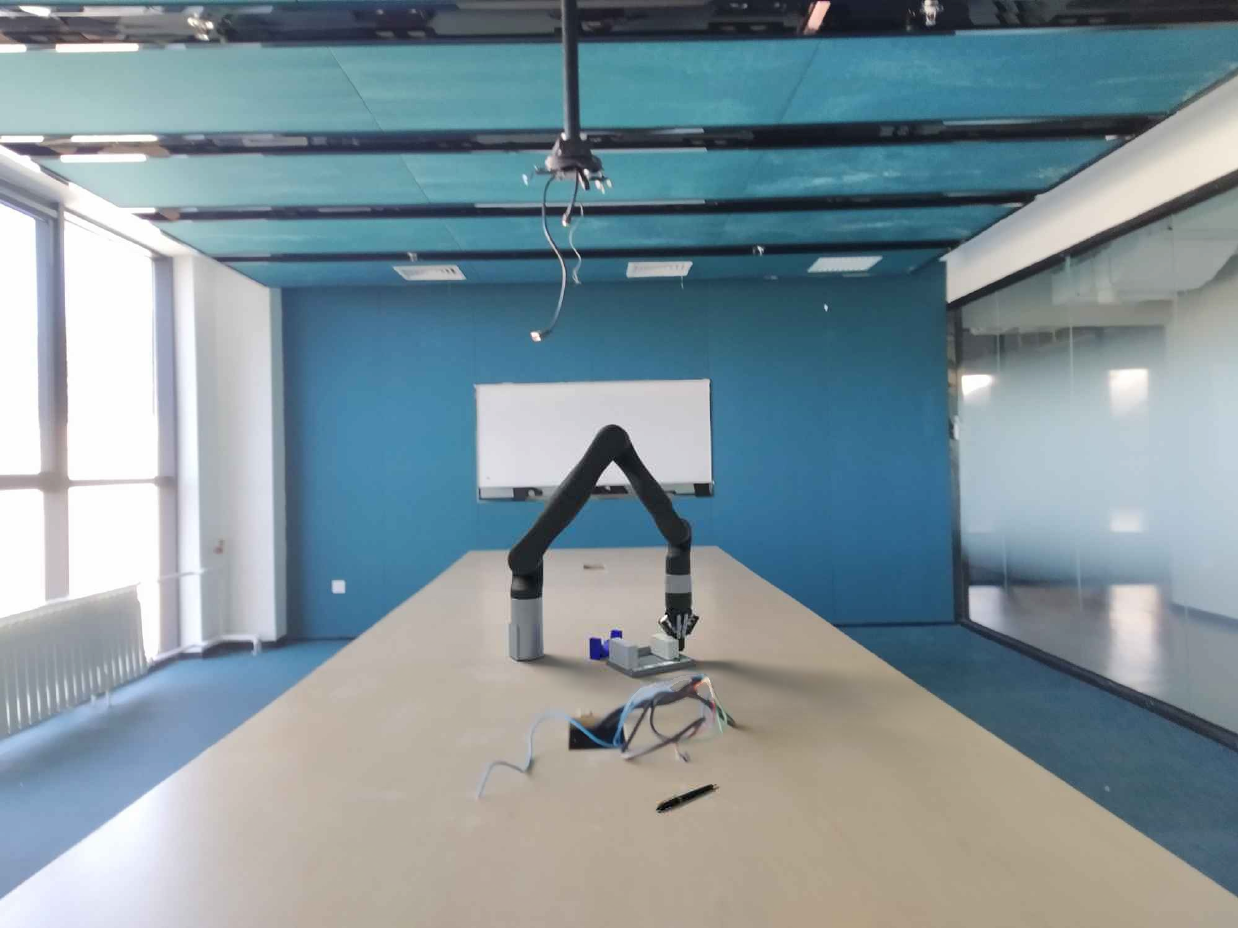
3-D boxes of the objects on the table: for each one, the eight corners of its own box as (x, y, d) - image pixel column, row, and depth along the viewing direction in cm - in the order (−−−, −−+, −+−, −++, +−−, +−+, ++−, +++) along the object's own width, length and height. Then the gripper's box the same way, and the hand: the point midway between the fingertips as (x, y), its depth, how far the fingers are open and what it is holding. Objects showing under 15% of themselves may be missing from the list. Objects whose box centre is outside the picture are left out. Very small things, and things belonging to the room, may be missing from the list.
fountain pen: (716, 785, 123) (715, 777, 123) (721, 788, 122) (720, 779, 122) (653, 812, 114) (653, 803, 114) (658, 815, 113) (657, 805, 113)
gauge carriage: (673, 662, 190) (673, 643, 190) (650, 652, 200) (650, 635, 200) (685, 660, 192) (685, 641, 192) (662, 650, 202) (662, 633, 202)
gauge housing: (631, 677, 183) (631, 648, 183) (606, 664, 195) (605, 637, 195) (695, 665, 193) (694, 637, 193) (666, 653, 205) (666, 627, 205)
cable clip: (610, 648, 212) (609, 628, 212) (622, 650, 210) (622, 630, 210) (585, 658, 202) (585, 637, 202) (598, 660, 200) (597, 639, 200)
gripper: (689, 585, 206) (690, 644, 206) (651, 589, 199) (652, 651, 199) (705, 589, 199) (706, 650, 199) (666, 594, 193) (667, 657, 193)
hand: (679, 650), depth 199 cm, fingers closed
